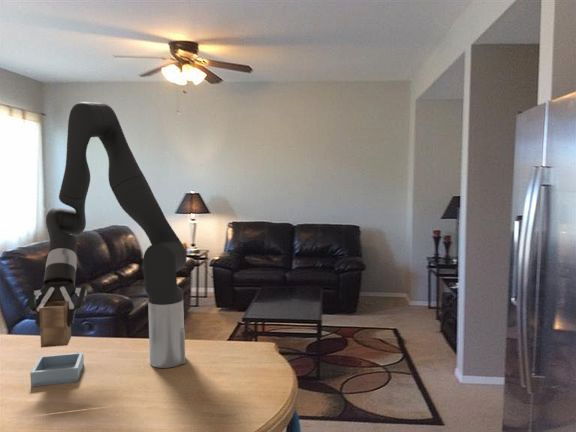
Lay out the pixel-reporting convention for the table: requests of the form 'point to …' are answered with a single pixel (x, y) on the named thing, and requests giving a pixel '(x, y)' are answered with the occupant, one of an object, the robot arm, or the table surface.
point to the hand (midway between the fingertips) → (54, 326)
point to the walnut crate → (54, 324)
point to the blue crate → (57, 369)
